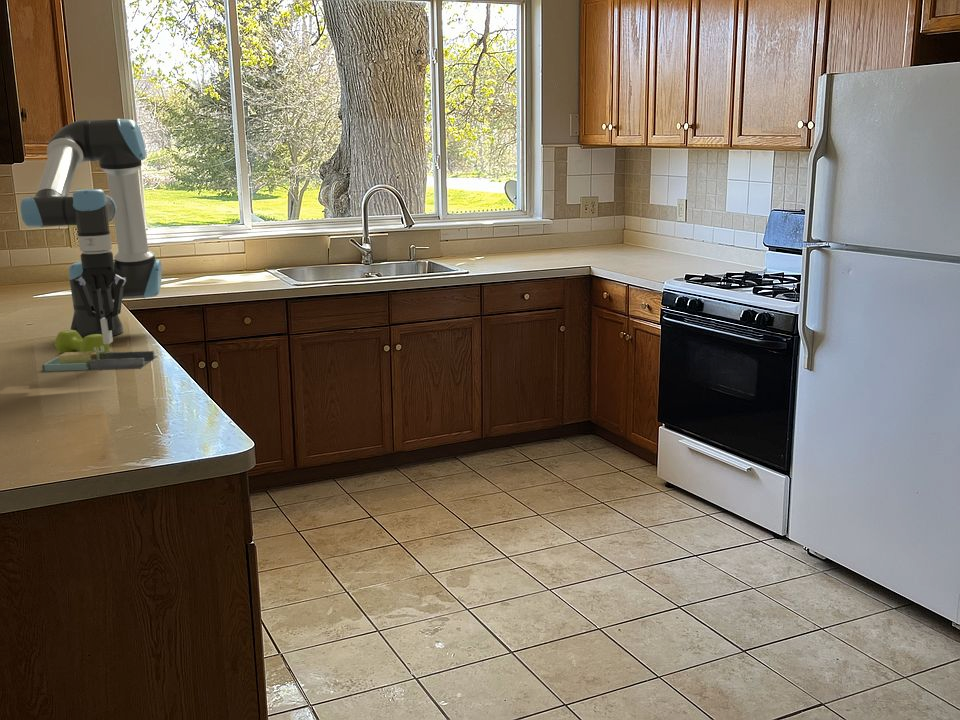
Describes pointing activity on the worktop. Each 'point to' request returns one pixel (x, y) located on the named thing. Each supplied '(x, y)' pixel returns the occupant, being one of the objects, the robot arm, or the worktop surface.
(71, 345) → the dumbbell
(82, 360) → the wooden cube
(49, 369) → the tray
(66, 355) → the wooden block
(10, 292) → the worktop surface
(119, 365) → the slot board
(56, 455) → the worktop surface
